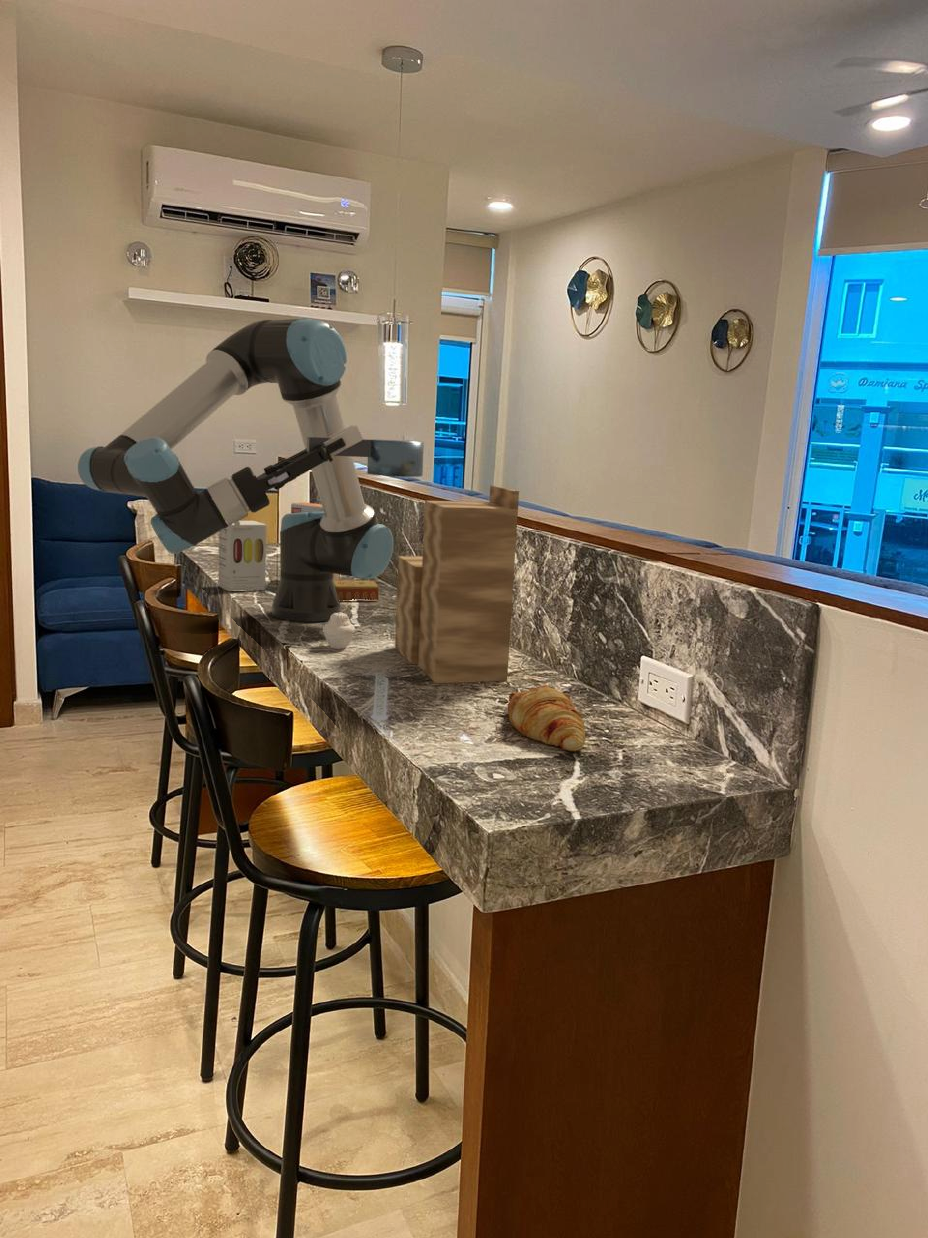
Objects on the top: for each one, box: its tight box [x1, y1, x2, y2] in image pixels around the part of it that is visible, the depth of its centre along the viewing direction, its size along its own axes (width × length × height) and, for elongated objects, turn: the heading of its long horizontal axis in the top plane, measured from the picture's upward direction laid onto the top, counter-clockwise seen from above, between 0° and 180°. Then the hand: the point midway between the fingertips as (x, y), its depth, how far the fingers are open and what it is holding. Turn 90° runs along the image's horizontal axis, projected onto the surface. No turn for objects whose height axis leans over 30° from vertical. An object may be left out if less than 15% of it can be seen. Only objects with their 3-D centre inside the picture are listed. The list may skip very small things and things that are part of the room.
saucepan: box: [307, 437, 425, 478], centre depth 168 cm, size 10×21×6 cm, turn 107°
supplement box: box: [217, 520, 267, 592], centre depth 234 cm, size 10×9×17 cm
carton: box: [334, 580, 379, 601], centre depth 230 cm, size 8×16×4 cm, turn 104°
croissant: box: [507, 685, 586, 752], centre depth 137 cm, size 21×10×8 cm, turn 24°
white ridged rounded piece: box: [322, 612, 356, 650], centre depth 181 cm, size 6×6×7 cm
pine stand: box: [394, 485, 520, 684], centre depth 170 cm, size 26×14×33 cm, turn 17°
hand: (357, 432), depth 166 cm, fingers closed on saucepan, 3 cm apart
